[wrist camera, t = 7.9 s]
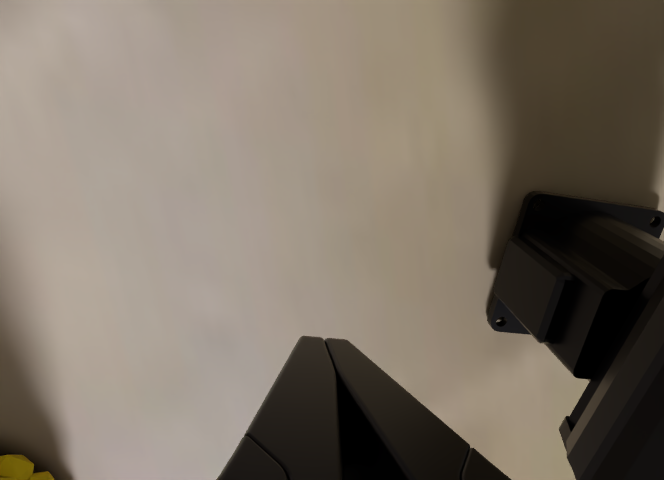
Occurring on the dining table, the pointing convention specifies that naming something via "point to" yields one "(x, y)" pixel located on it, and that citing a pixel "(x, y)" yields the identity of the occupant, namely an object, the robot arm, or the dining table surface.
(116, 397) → the dining table surface
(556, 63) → the dining table surface
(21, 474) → the food
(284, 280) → the dining table surface
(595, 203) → the robot arm
